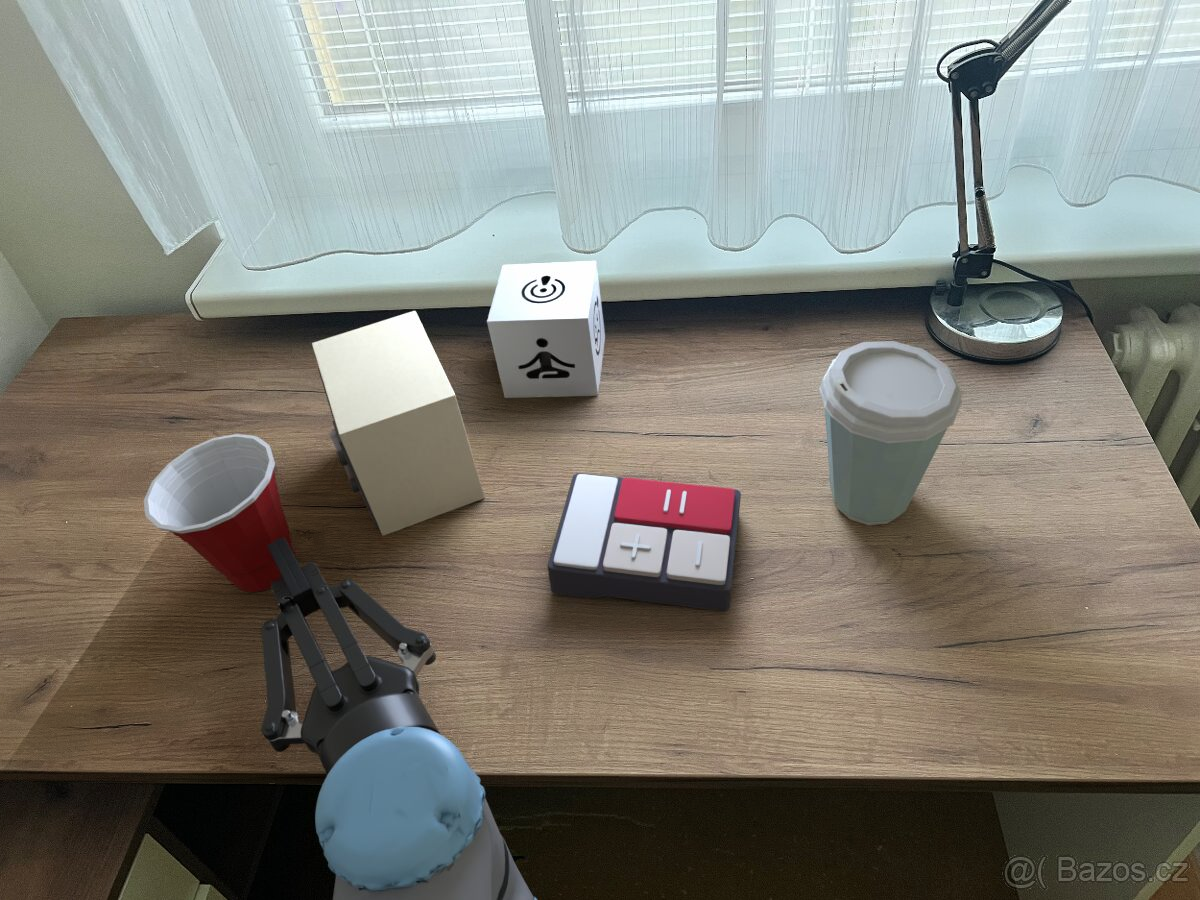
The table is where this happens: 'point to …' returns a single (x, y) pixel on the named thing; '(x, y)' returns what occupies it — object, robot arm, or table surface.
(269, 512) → the plastic cup
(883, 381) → the disposable coffee cup
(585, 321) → the icon cube
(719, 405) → the table surface
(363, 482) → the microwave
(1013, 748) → the table surface
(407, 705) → the robot arm
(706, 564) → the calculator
